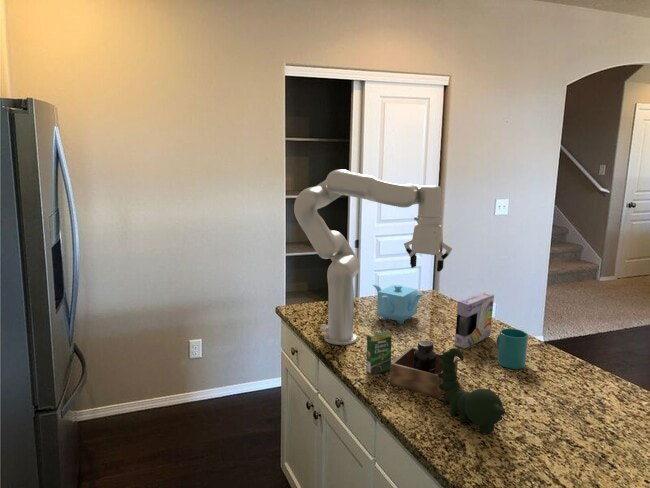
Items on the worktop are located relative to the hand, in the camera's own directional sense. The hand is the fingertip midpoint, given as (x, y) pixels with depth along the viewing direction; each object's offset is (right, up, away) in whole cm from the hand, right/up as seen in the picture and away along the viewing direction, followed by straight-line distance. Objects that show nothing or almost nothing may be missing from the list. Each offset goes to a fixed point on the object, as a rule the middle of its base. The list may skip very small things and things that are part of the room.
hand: (426, 268), depth 179 cm
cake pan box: (+20, -29, +14) cm, 38 cm away
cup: (+27, -32, -4) cm, 43 cm away
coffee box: (-18, -33, -12) cm, 40 cm away
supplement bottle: (-5, -34, -19) cm, 39 cm away
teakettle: (-5, -24, +38) cm, 45 cm away
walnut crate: (-5, -35, -19) cm, 40 cm away
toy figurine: (+3, -39, -42) cm, 57 cm away
